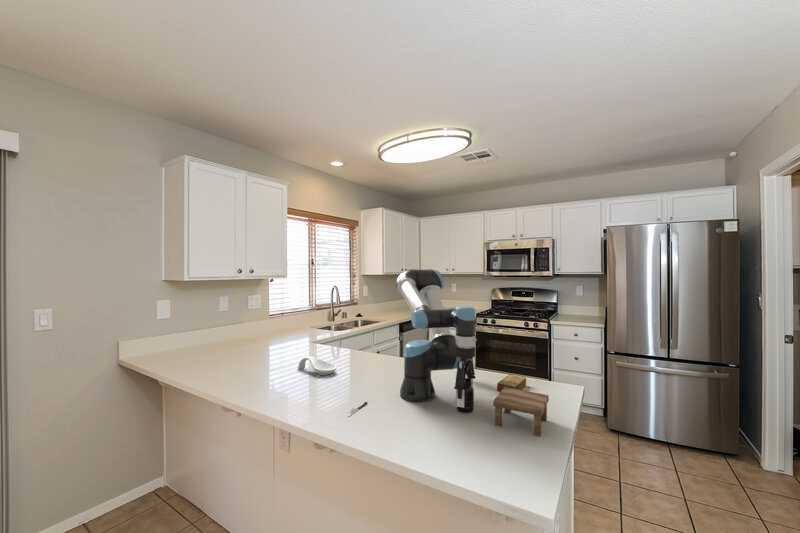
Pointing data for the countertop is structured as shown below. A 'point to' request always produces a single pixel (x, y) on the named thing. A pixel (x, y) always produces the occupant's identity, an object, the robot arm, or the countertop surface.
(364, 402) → the chef's knife
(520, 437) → the countertop surface
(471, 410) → the supplement bottle
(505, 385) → the carton
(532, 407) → the footstool
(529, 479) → the countertop surface
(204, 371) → the countertop surface
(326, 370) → the spoon rest
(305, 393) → the countertop surface
